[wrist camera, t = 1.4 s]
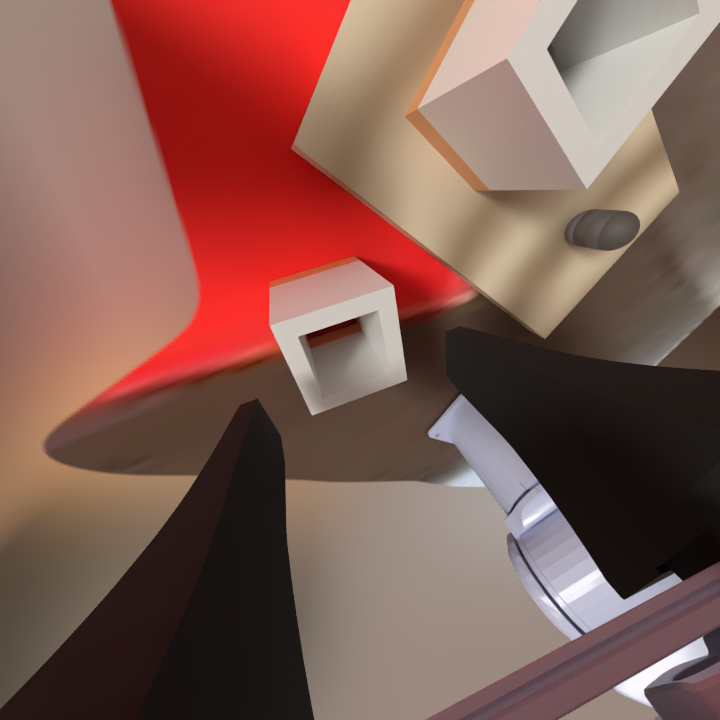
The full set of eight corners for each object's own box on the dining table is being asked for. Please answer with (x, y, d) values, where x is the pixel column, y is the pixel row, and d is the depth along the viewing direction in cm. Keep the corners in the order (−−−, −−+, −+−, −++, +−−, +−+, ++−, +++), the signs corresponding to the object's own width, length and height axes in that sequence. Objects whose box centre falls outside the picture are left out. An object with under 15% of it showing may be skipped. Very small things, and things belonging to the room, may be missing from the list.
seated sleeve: (545, 81, 12) (732, 6, 7) (474, 190, 14) (586, 189, 9) (482, -34, 10) (699, -264, 5) (404, 116, 11) (507, 57, 6)
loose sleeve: (353, 255, 15) (393, 285, 10) (370, 329, 18) (407, 380, 13) (269, 281, 15) (269, 325, 10) (300, 353, 17) (312, 415, 13)
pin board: (652, 191, 19) (758, 191, 15) (530, 331, 23) (587, 361, 19) (458, -269, 8) (655, -745, 4) (290, 148, 12) (302, 126, 8)
